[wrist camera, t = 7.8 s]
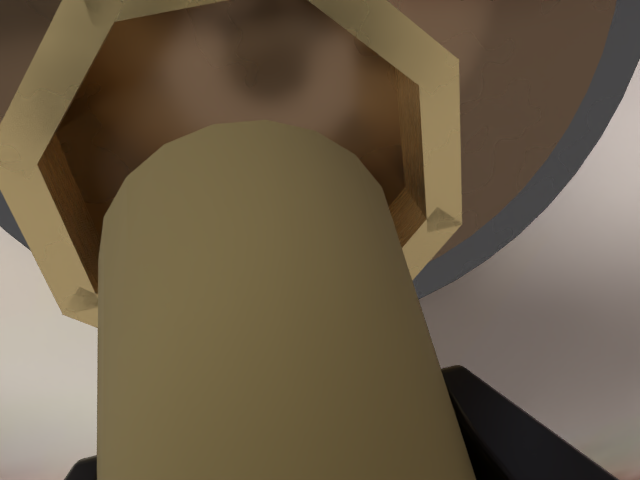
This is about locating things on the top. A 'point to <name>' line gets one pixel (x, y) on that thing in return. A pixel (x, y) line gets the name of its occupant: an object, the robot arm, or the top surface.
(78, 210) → the carrier plate
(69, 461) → the top surface
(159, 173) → the olive pestle
